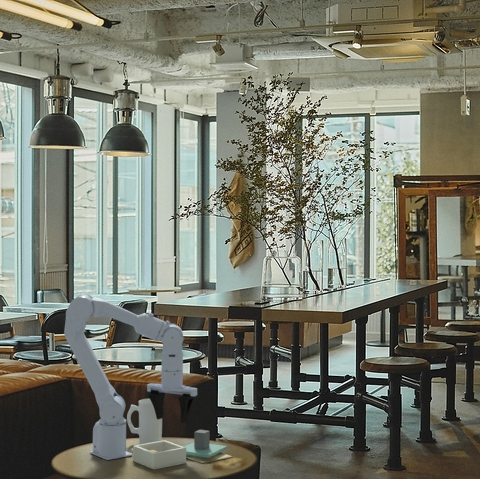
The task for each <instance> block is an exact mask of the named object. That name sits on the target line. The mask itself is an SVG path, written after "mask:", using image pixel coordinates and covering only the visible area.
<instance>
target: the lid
mask: <svg viewBox="0 0 480 479" xmlns="http://www.w3.org/2000/svg"><path fill="white" fill-rule="evenodd" d="M210 434H211V433H210V430H205V429H198V430H196V431H194V437H193V438H194V441H193V442H191V443H190V444H186V445H184V446H183V447H185V448H186V456H192V457H199V458H205V459H208V458H210V457H212V456H214V455H216V454H218V453H220V452H221V453H223V452H224V451H226V450H227V449H228V446H227V445H221V444H214V443H211V442H210V436H211V435H210Z"/></svg>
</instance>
